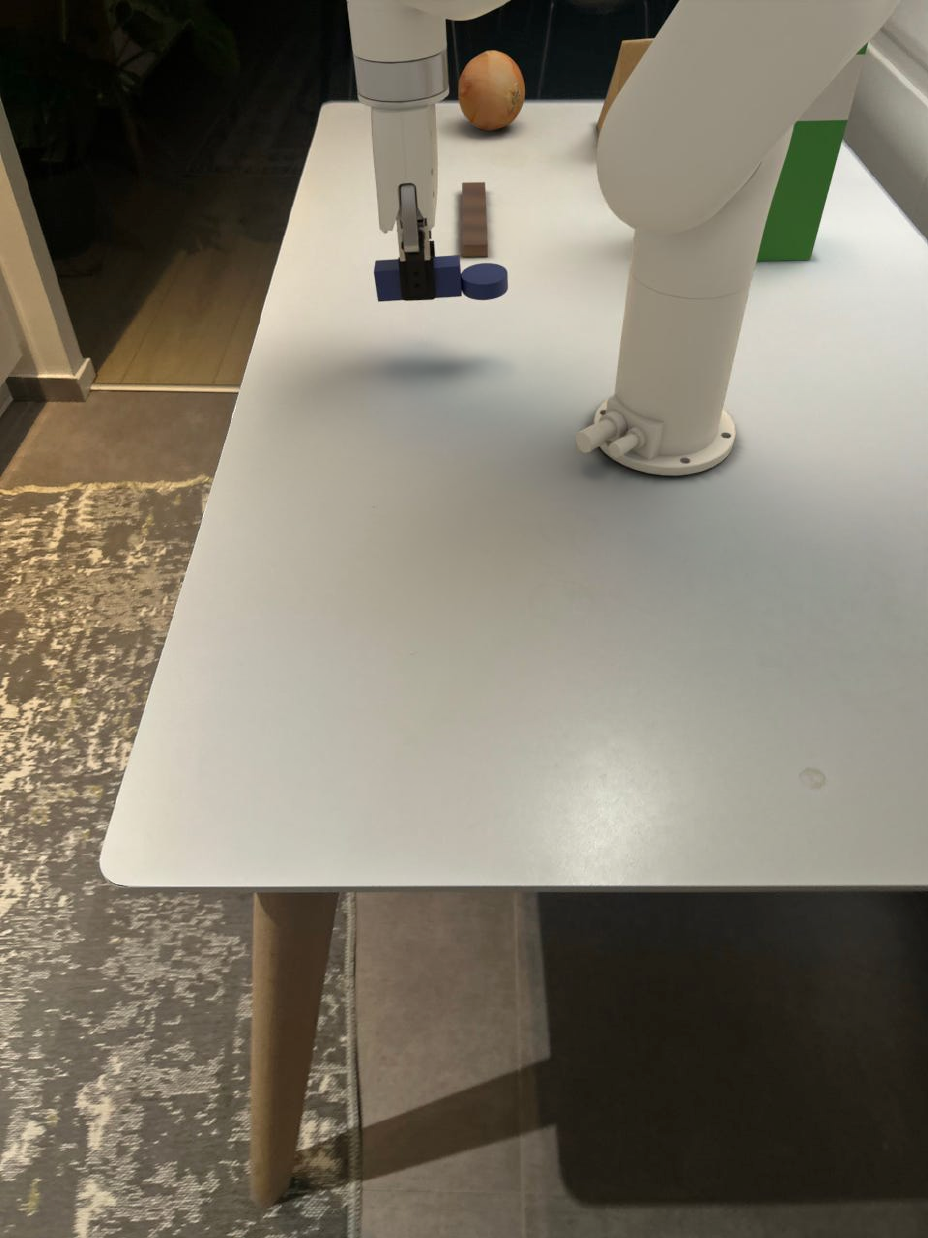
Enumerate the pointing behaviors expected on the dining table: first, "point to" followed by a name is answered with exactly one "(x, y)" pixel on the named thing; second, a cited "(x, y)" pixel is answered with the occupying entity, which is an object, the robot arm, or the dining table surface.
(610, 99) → the sandwich container
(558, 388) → the dining table surface
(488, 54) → the onion
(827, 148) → the hardback book
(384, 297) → the blue block and puck
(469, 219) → the walnut strip
